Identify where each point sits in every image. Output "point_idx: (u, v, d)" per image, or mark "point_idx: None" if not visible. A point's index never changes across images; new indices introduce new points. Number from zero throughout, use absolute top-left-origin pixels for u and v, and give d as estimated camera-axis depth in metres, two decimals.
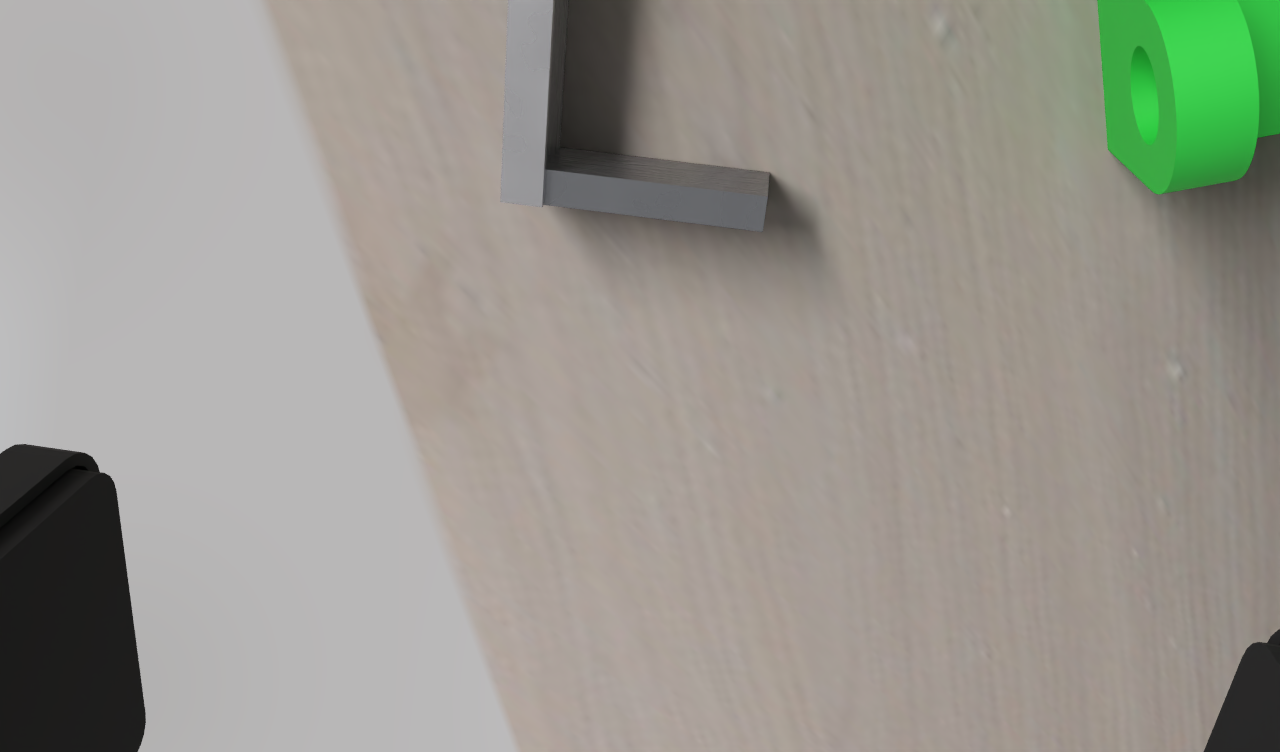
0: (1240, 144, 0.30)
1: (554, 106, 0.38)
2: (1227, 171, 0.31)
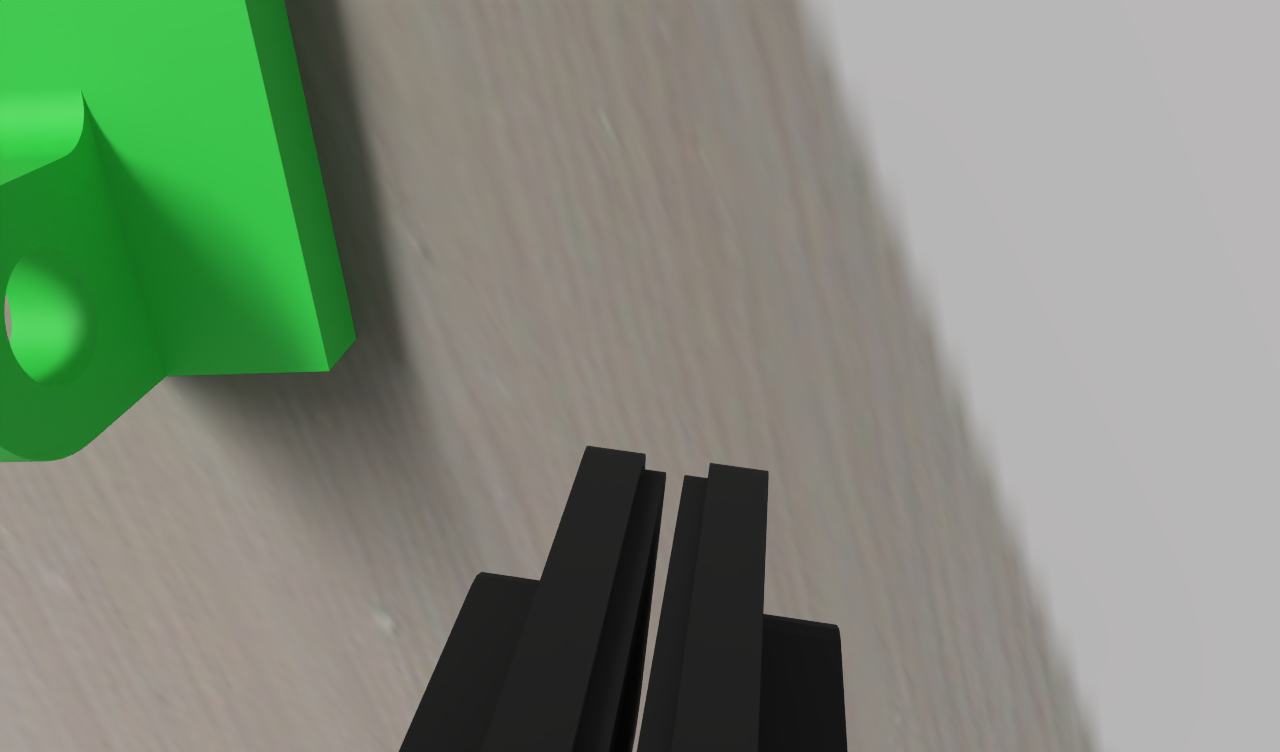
0: None
1: None
2: None
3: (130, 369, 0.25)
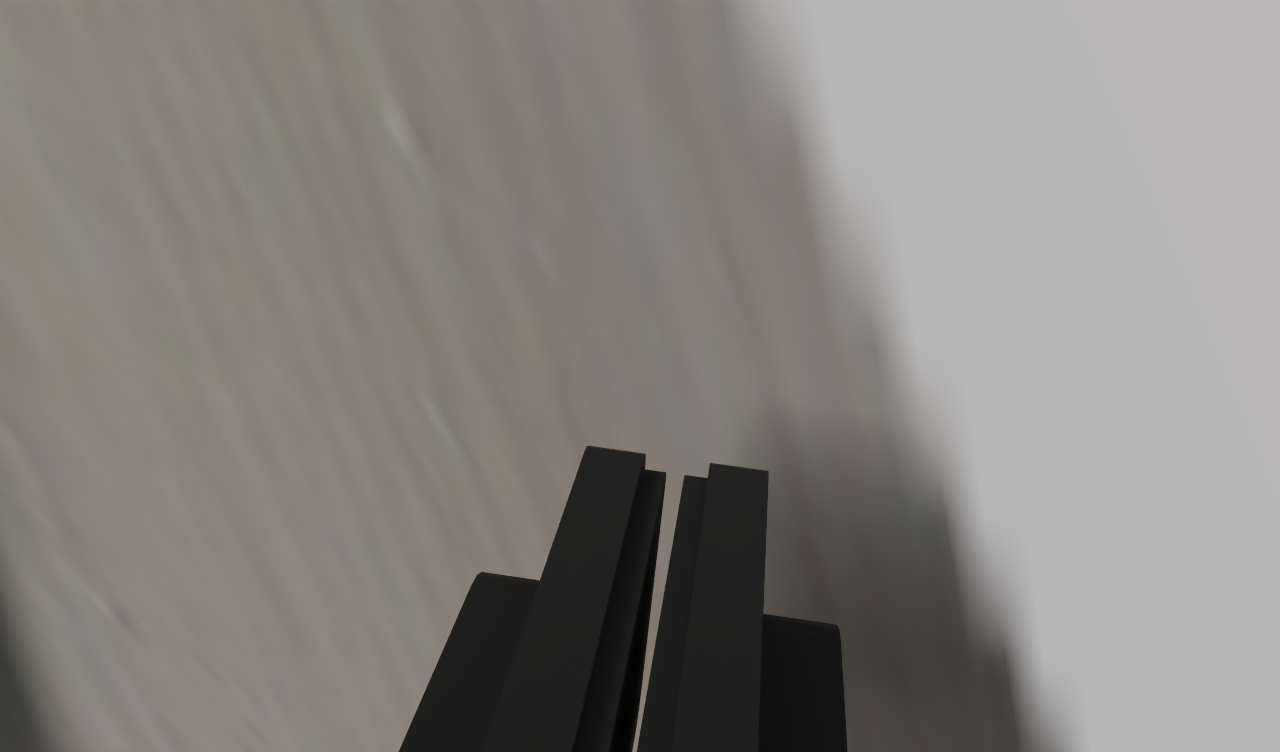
0: None
1: None
2: None
3: None
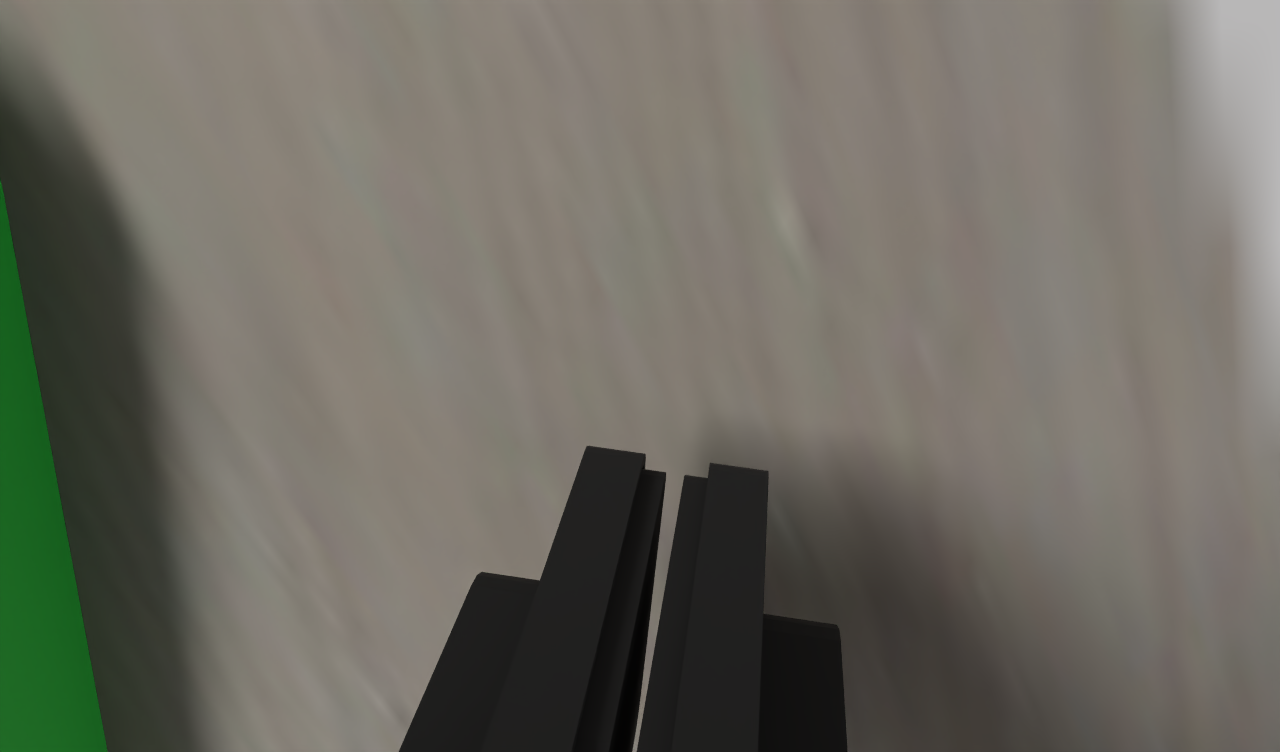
0: None
1: None
2: None
3: None
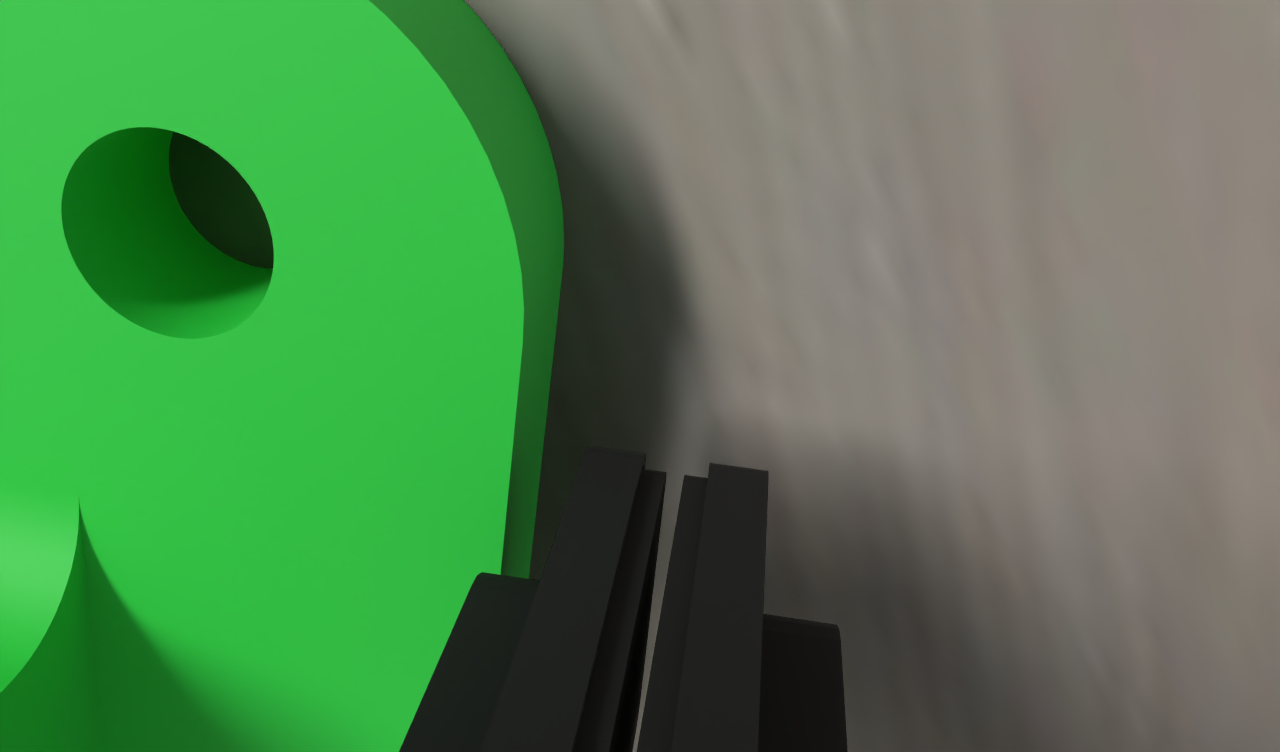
0: None
1: None
2: None
3: None
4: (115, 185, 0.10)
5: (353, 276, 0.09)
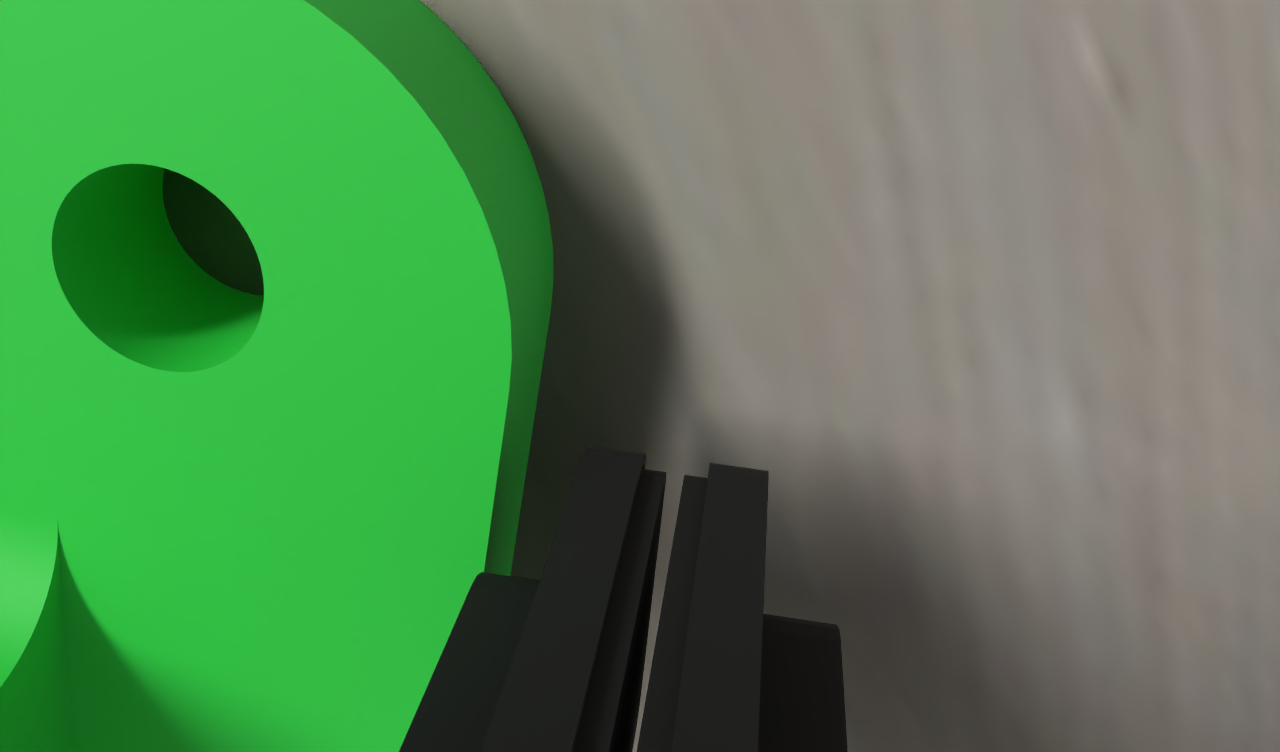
0: None
1: None
2: None
3: None
4: (106, 213, 0.10)
5: (343, 318, 0.09)
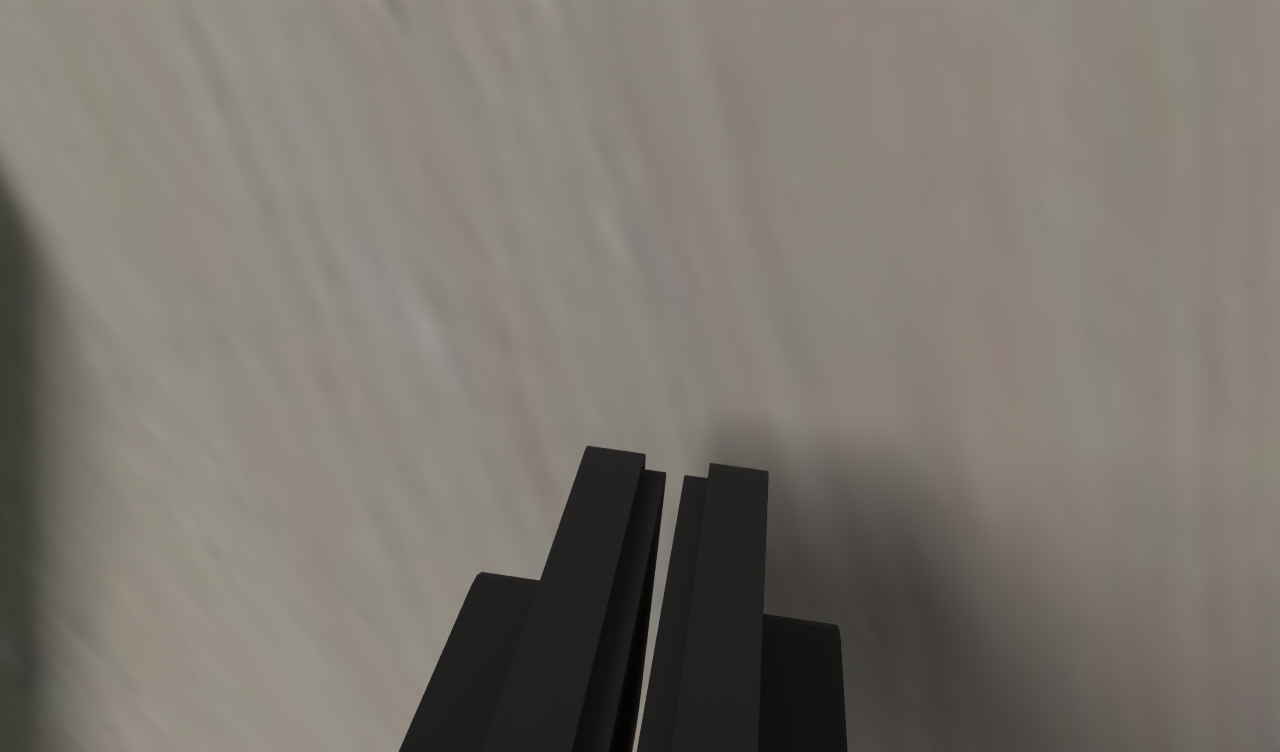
0: None
1: None
2: None
3: None
4: None
5: None
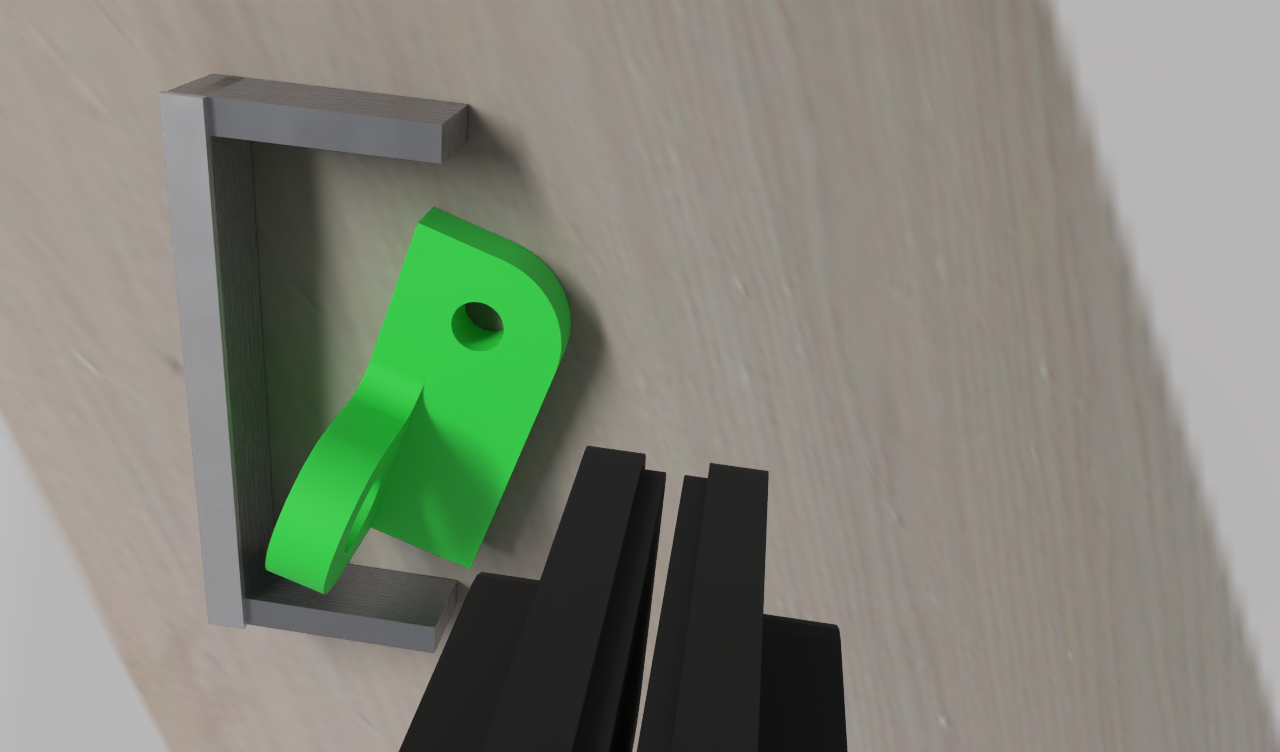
0: (313, 580, 0.36)
1: (257, 537, 0.43)
2: (309, 587, 0.37)
3: (365, 529, 0.40)
4: None
5: (519, 347, 0.38)
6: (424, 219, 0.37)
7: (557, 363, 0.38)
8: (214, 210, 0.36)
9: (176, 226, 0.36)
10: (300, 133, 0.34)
